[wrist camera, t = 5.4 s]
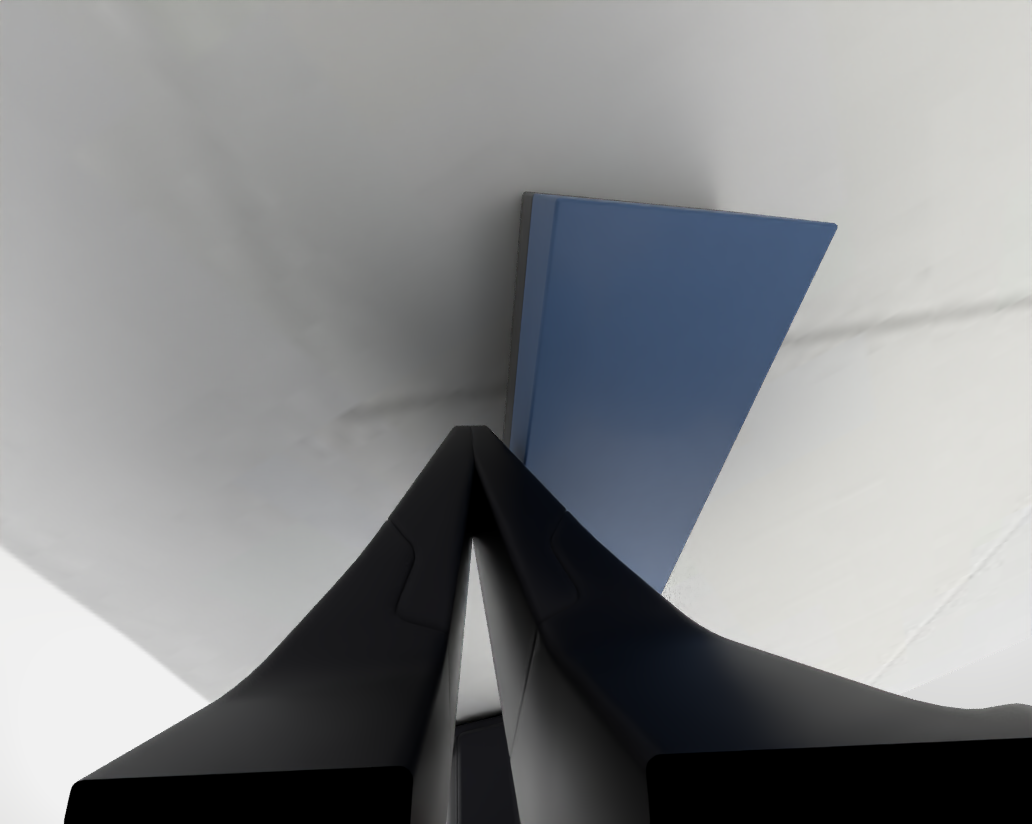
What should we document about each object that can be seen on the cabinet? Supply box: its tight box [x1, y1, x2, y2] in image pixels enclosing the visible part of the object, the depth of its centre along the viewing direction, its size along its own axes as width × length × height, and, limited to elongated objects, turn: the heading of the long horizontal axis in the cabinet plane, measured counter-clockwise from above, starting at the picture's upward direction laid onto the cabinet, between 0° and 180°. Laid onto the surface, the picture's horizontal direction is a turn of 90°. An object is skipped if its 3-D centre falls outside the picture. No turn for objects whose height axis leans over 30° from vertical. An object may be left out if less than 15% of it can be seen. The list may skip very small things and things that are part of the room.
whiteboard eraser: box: [503, 192, 837, 595], centre depth 9 cm, size 10×4×3 cm, turn 175°
